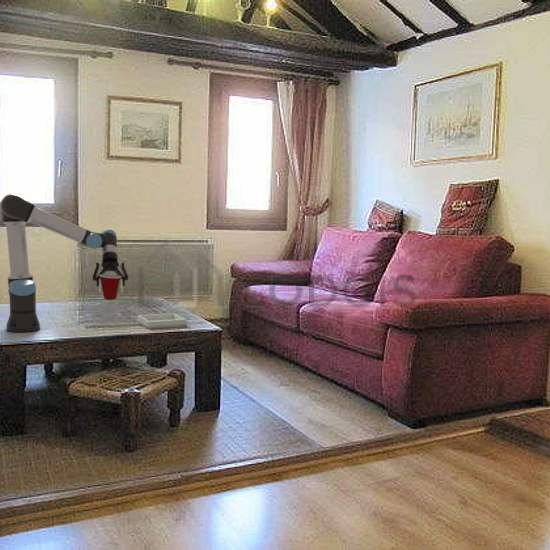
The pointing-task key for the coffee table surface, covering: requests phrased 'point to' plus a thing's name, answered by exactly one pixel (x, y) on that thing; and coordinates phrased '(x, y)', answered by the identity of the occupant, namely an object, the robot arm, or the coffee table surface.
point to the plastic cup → (110, 285)
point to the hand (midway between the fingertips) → (110, 290)
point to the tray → (162, 321)
